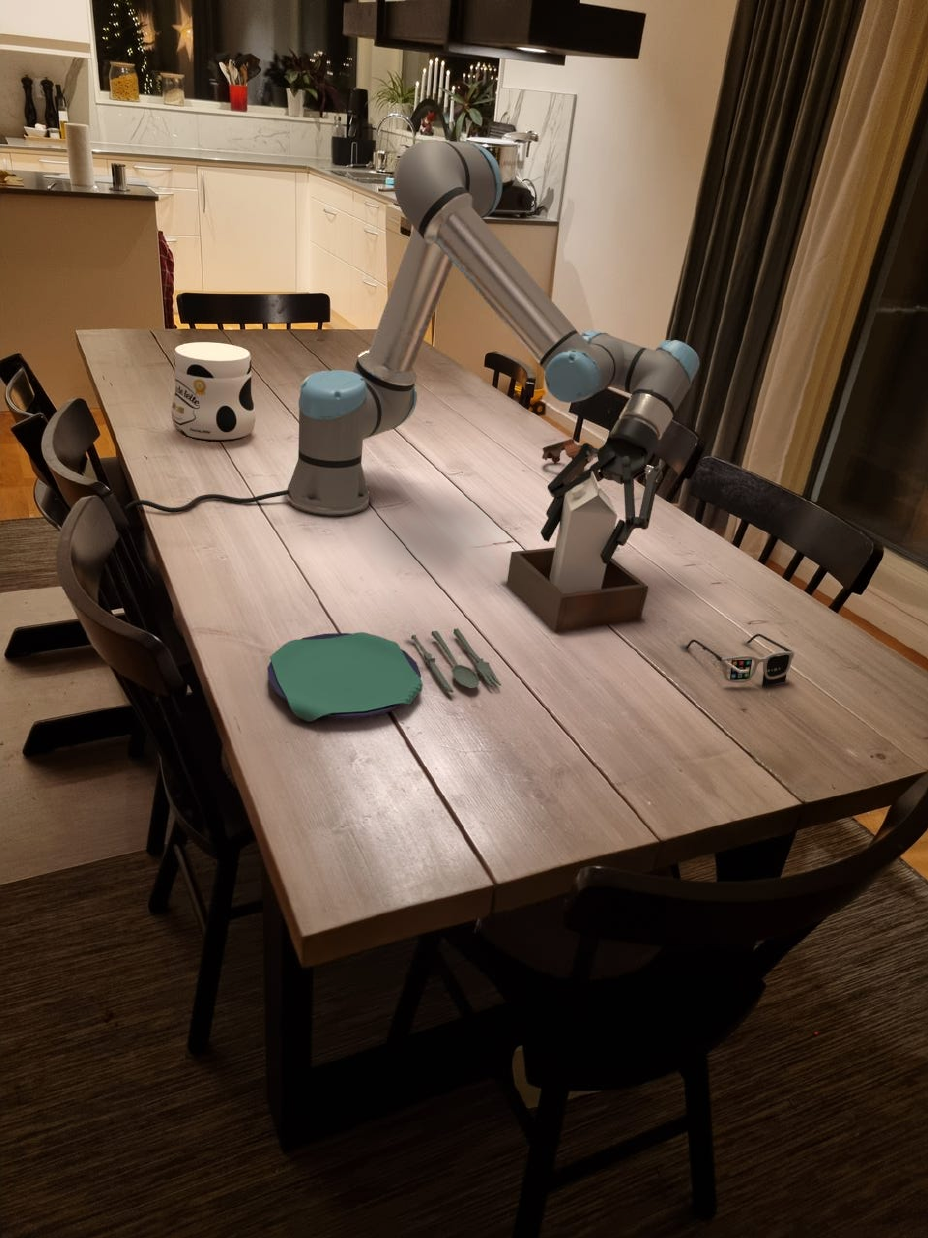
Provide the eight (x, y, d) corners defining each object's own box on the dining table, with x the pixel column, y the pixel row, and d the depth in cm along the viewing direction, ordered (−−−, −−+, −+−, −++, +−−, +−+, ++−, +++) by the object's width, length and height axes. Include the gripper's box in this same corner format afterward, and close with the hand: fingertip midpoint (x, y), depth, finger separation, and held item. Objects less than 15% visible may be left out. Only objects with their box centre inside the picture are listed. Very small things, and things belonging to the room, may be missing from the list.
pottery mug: (558, 482, 197) (548, 445, 196) (542, 486, 206) (532, 450, 205) (607, 467, 200) (597, 430, 199) (588, 471, 209) (579, 436, 208)
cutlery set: (252, 653, 124) (252, 638, 123) (455, 630, 135) (457, 616, 134) (287, 739, 108) (287, 724, 107) (513, 705, 120) (516, 690, 119)
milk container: (156, 439, 191) (152, 352, 182) (197, 417, 206) (194, 336, 197) (233, 454, 188) (232, 367, 180) (268, 431, 203) (269, 349, 195)
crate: (554, 632, 138) (561, 597, 135) (506, 584, 151) (511, 551, 148) (640, 619, 145) (648, 586, 142) (587, 575, 157) (594, 543, 154)
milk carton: (591, 582, 150) (614, 473, 141) (598, 602, 144) (623, 490, 135) (549, 578, 150) (569, 468, 140) (554, 598, 144) (575, 485, 134)
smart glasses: (734, 700, 126) (739, 667, 125) (680, 662, 139) (684, 632, 138) (807, 692, 130) (813, 660, 128) (748, 656, 143) (753, 626, 141)
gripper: (707, 462, 143) (642, 583, 139) (581, 424, 153) (518, 535, 149) (702, 436, 136) (635, 562, 132) (572, 398, 146) (506, 513, 142)
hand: (573, 548), depth 141 cm, fingers closed on milk carton, 10 cm apart
